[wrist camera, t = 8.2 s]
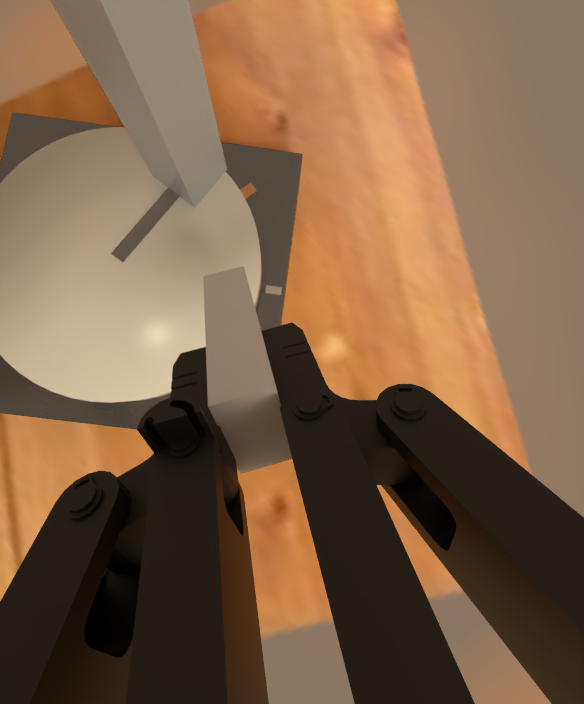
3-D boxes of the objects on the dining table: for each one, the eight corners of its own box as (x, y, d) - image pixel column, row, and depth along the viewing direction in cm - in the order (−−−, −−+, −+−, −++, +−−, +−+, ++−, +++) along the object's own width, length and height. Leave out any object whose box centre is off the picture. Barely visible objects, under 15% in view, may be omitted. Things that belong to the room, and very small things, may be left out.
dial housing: (-15, 403, 23) (-61, 406, 20) (44, 145, 25) (10, 110, 22) (266, 437, 23) (264, 445, 20) (299, 181, 26) (302, 152, 22)
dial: (150, 456, 20) (-151, 615, 6) (-59, 294, 20) (-789, 86, 6) (312, 249, 22) (375, -5, 8) (116, 104, 22) (-157, -377, 8)
